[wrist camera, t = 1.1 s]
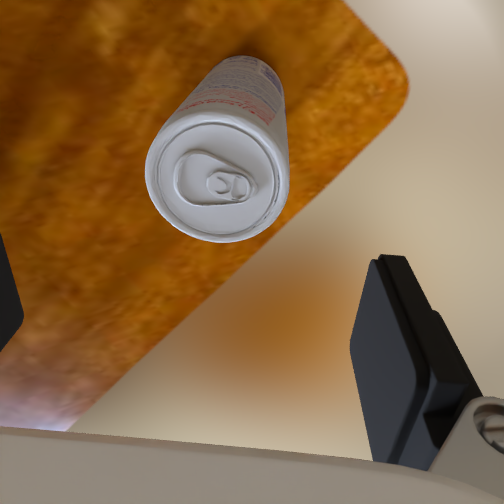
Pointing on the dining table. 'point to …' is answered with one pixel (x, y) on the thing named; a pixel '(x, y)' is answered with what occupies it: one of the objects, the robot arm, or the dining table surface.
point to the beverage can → (223, 155)
